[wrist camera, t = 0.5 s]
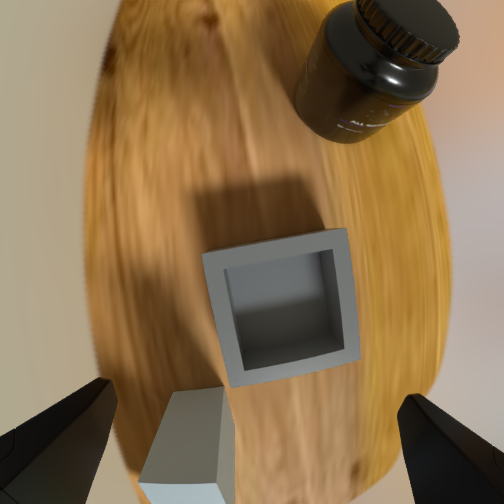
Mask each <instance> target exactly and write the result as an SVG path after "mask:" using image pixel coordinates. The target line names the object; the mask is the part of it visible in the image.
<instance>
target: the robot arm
mask: <svg viewBox="0 0 504 504" xmlns="http://www.w3.org/2000/svg"><path fill="white" fill-rule="evenodd" d="M116 407H117V396H116V392H115V389H114V386H113V383H112V381H111V380H109V379H106V378H102V377H98V378H96V379H95V380H93V381H92V382H90V383H88V384H87V385H85V386H84V387H82V388H80V389H79V390H77V391H76V392H74V393H72V394H71V395H69V396H67V397H66V398H64V399H62V400H61V401H59V402H57V403H56V404H54V405H53V406H51V407H49V408H48V409H46V410H45V411H43V412H41V413H39V414H38V415H36V416H34V417H33V418H31V419H29V420H28V421H26V422H24V423H23V424H21V425H19V426H18V427H16V429H13V430H11V431H9V432H7V433H6V434H4V435H2V436H0V504H85V503H86V500H87V497H88V494H89V491H90V488H91V486H92V482H93V480H94V477H95V474H96V472H97V469H98V466H99V463H100V461H101V458H102V455H103V453H104V450H105V447H106V444H107V441H108V437H109V433H110V429H111V425H112V422H113V418H114V414H115V410H116ZM397 420H398V426H399V431H400V437H401V444H402V450H403V456H404V460H405V464H406V468H407V471H408V476H409V480H410V484H411V488H412V492H413V496H414V501H415V504H504V453H503V452H502V451H500V450H499V449H497V448H496V447H494V446H492V445H491V444H490V443H488V442H487V441H486V440H484V439H482V438H481V437H480V436H479V435H477V434H476V433H474V432H473V431H471V430H470V429H469V428H467V427H466V426H464V425H463V424H461V423H460V422H459V421H457V420H455V419H454V418H453V417H451V416H450V415H449V414H447V413H446V412H444V411H443V410H442V409H440V408H439V407H438V406H436V405H435V404H433V403H432V402H430V401H429V400H428V399H426V398H425V397H424V396H422V395H421V394H419V393H415V394H409V395H407V396H406V398H405V399H404V401H403V403H402V405H401V407H400V409H399V410H398V413H397Z"/></svg>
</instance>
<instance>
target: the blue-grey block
mask: <svg viewBox="0 0 504 504" xmlns="http://www.w3.org/2000/svg"><path fill="white" fill-rule="evenodd" d="M138 484H139V486H140V487H141V489H142V490H143V492H144V493H145V495H146V496H147V498H148V499H149V501H150V502H151V504H235V424H234V420H233V417H232V413H231V410H230V406H229V402H228V399H227V395H226V391H225V387H224V386H221V387H214V388H206V389H197V390H188V391H177V392H173V393H172V396H171V398H170V401H169V403H168V406H167V408H166V411H165V413H164V416H163V418H162V421H161V423H160V426H159V428H158V431H157V433H156V436H155V438H154V441H153V444H152V446H151V449H150V451H149V454H148V456H147V459H146V462H145V464H144V467H143V469H142V472H141V475H140V477H139V480H138Z"/></svg>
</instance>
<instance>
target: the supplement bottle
mask: <svg viewBox="0 0 504 504" xmlns="http://www.w3.org/2000/svg"><path fill="white" fill-rule="evenodd" d="M459 38H460V36H459V34H458V29H457V27H456V24H455V23H454V21H453V19H452V17H451V16H450V15H449V14H448V12H447V11H446V9H445V8H444V7H443V6H442V5H441V4H440V3H439V2H438V1H437V0H352V1H347V2H344V3H341V4H339V5H337V6H335V7H334V8H333V9H331V10H330V11H329V12H328V14H327V15H326V17H325V19H324V20H323V22H322V25H321V27H320V29H319V31H318V33H317V36H316V38H315V40H314V43H313V45H312V47H311V49H310V52H309V54H308V56H307V59H306V61H305V63H304V66H303V68H302V70H301V73H300V75H299V77H298V80H297V82H296V86H295V91H294V100H295V105H296V108H297V111H298V113H299V115H300V117H301V118H302V120H303V121H304V122H305V124H306V125H307V126H308V127H309V128H310V129H311V130H313V131H314V132H315V133H316V134H318V135H319V136H321V137H323V138H325V139H327V140H330V141H332V142H336V143H342V144H351V143H357V142H360V141H363V140H365V139H367V138H368V137H370V136H371V135H373V134H375V133H376V132H377V131H379V130H380V129H382V128H383V127H385V126H386V125H387V124H389V123H390V122H392V121H393V120H395V119H396V118H398V117H399V116H400V115H402V114H403V113H405V112H406V111H408V110H409V109H411V108H412V107H414V106H415V105H417V104H418V103H419V102H421V101H422V100H424V99H425V98H426V97H427V96H429V95H430V94H431V92H432V91H433V90H434V88H435V86H436V83H437V79H438V73H439V72H438V71H439V67H438V65H439V64H440V63H441V62H443V61H444V59H445V58H446V57H447V56H448V55H450V54H451V53H452V52H453V51H454V50H455V49H456V48H457V47H458V44H459V42H460V41H459Z"/></svg>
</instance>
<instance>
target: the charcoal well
mask: <svg viewBox="0 0 504 504" xmlns="http://www.w3.org/2000/svg"><path fill="white" fill-rule="evenodd" d="M201 256H202V261H203V267H204V272H205V277H206V282H207V287H208V291H209V296H210V301H211V306H212V310H213V315H214V320H215V324H216V329H217V333H218V337H219V342H220V346H221V350H222V355H223V359H224V363H225V367H226V371H227V375H228V379H229V383H230V387H231V388H234V387H241V386H247V385H253V384H258V383H264V382H269V381H274V380H279V379H284V378H289V377H294V376H298V375H303V374H307V373H311V372H315V371H319V370H323V369H327V368H331V367H335V366H339V365H342V364H346V363H349V362H353V361H356V360H360V359H361V353H360V338H359V325H358V314H357V304H356V295H355V286H354V278H353V270H352V262H351V255H350V248H349V242H348V235H347V229H346V228H332V229H322V230H317V231H311V232H305V233H300V234H294V235H289V236H283V237H277V238H272V239H266V240H261V241H255V242H250V243H244V244H239V245H234V246H228V247H223V248H217V249H212V250H208V251H206V252H204V253H202V254H201Z"/></svg>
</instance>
